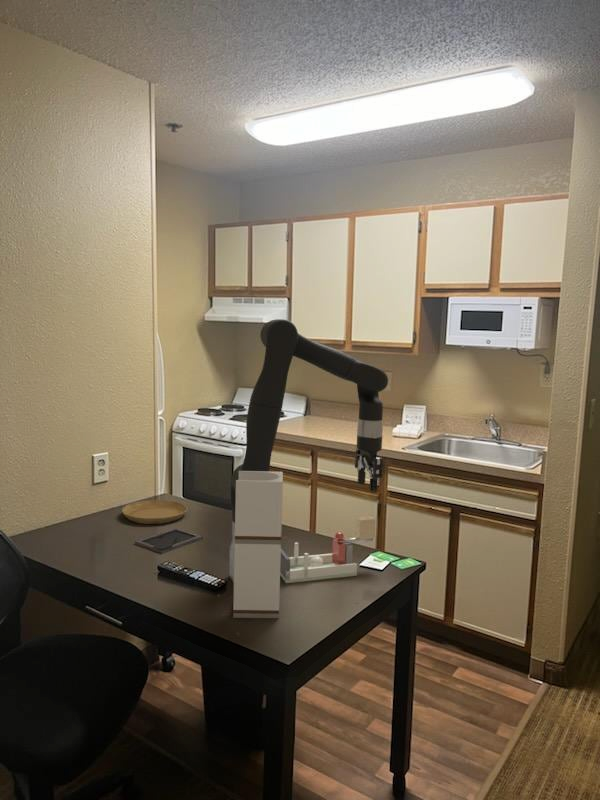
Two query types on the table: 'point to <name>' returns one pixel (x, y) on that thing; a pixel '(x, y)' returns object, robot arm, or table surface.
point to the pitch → (302, 571)
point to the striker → (363, 534)
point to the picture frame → (168, 540)
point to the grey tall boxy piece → (257, 544)
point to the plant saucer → (154, 511)
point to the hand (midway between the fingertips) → (367, 487)
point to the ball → (316, 561)
